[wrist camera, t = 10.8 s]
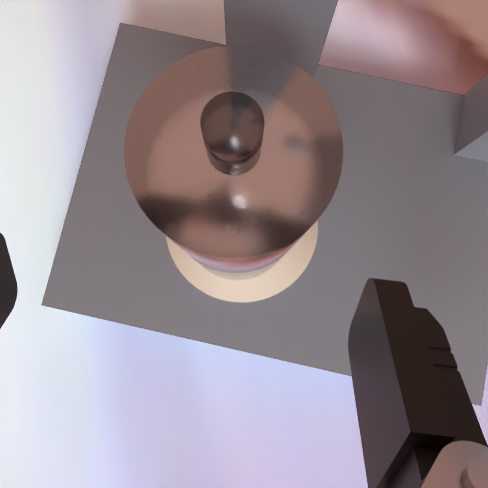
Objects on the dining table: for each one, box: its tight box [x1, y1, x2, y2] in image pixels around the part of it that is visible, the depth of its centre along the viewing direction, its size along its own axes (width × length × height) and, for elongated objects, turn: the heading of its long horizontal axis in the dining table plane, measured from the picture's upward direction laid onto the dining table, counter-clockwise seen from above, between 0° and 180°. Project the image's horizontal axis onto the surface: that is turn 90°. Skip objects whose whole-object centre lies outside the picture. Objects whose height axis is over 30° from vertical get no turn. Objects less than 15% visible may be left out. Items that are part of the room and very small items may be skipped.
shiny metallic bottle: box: [124, 46, 343, 280], centre depth 15 cm, size 5×5×12 cm
